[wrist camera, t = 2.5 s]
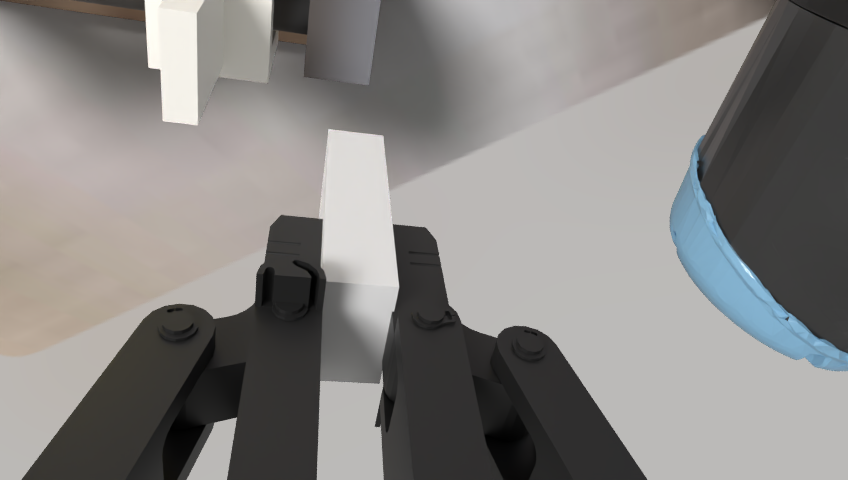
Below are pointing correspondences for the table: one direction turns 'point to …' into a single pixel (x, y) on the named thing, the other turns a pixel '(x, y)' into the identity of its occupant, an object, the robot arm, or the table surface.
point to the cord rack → (287, 30)
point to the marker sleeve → (207, 49)
